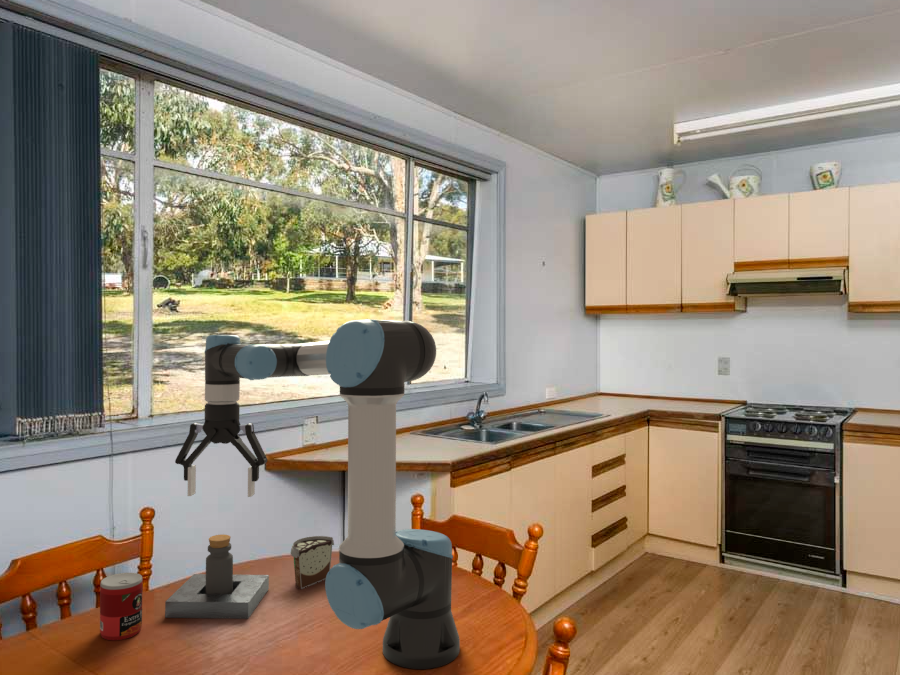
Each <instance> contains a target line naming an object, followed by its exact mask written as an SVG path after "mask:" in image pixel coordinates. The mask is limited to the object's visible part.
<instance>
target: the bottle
mask: <svg viewBox="0 0 900 675" xmlns="http://www.w3.org/2000/svg"><path fill="white" fill-rule="evenodd" d="M208 542H209V544H208V546H207V552H208V553H210V554H209V555H208V554H207V556H206V557H205V574H206V594H232V593H233V575H234V557H233V553H231V552H229V551H231V550H232V543H230V542H231V535H229V534H215V535H212V536H210V537H209V538H208Z"/></svg>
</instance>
